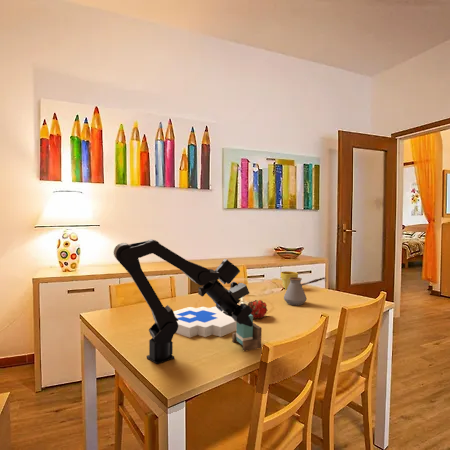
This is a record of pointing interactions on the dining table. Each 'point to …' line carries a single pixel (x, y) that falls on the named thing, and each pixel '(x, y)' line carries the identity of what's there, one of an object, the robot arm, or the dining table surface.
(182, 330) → the stepped white slab
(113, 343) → the dining table surface
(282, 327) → the dining table surface
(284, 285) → the plant pot
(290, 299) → the coffee pot
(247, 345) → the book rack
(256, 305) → the dragon fruit
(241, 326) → the book
